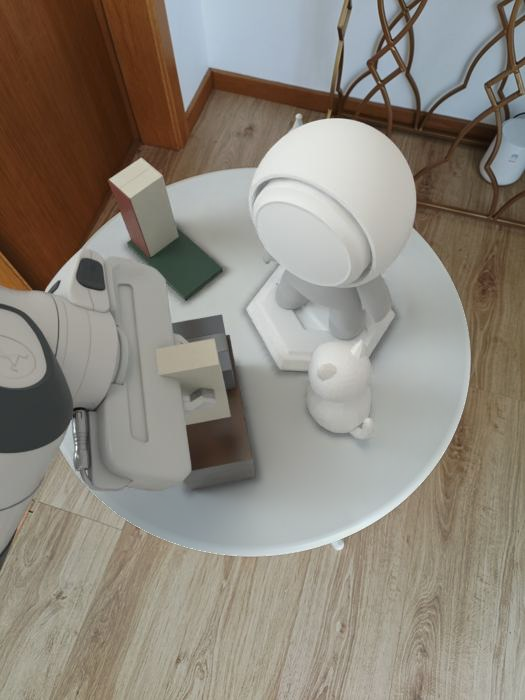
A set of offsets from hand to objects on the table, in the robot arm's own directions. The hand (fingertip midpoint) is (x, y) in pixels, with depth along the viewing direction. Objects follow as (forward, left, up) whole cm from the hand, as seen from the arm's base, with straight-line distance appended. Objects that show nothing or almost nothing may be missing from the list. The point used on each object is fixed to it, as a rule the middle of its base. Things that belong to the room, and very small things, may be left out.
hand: (208, 381), depth 51 cm
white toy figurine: (+17, +19, -26) cm, 36 cm away
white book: (-2, 0, -8) cm, 8 cm away
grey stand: (-2, +4, -26) cm, 26 cm away
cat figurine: (+16, +3, -26) cm, 31 cm away
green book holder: (-4, +34, -26) cm, 43 cm away
